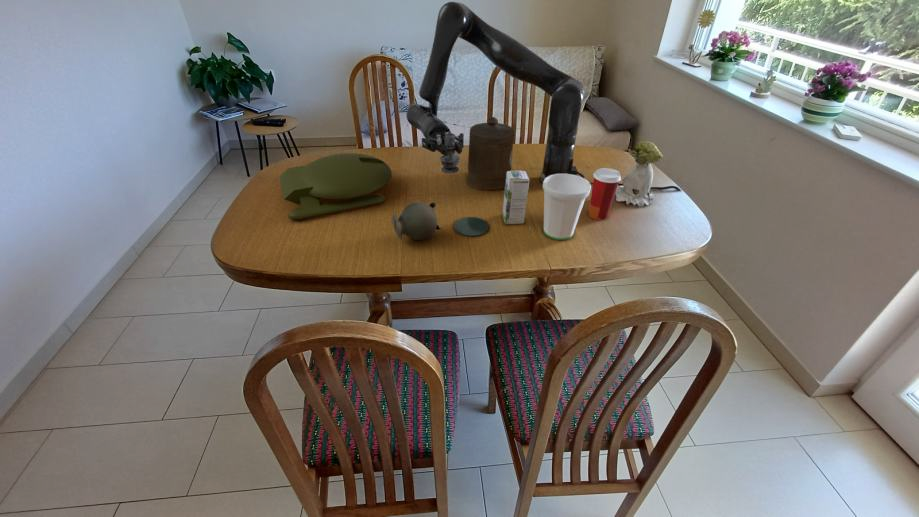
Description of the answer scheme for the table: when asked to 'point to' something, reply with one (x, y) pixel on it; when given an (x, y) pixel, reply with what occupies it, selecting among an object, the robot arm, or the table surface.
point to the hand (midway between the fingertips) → (453, 151)
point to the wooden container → (490, 154)
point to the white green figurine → (639, 175)
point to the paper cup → (603, 192)
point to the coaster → (471, 226)
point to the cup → (563, 204)
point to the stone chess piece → (450, 155)
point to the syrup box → (515, 197)
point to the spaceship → (334, 184)
